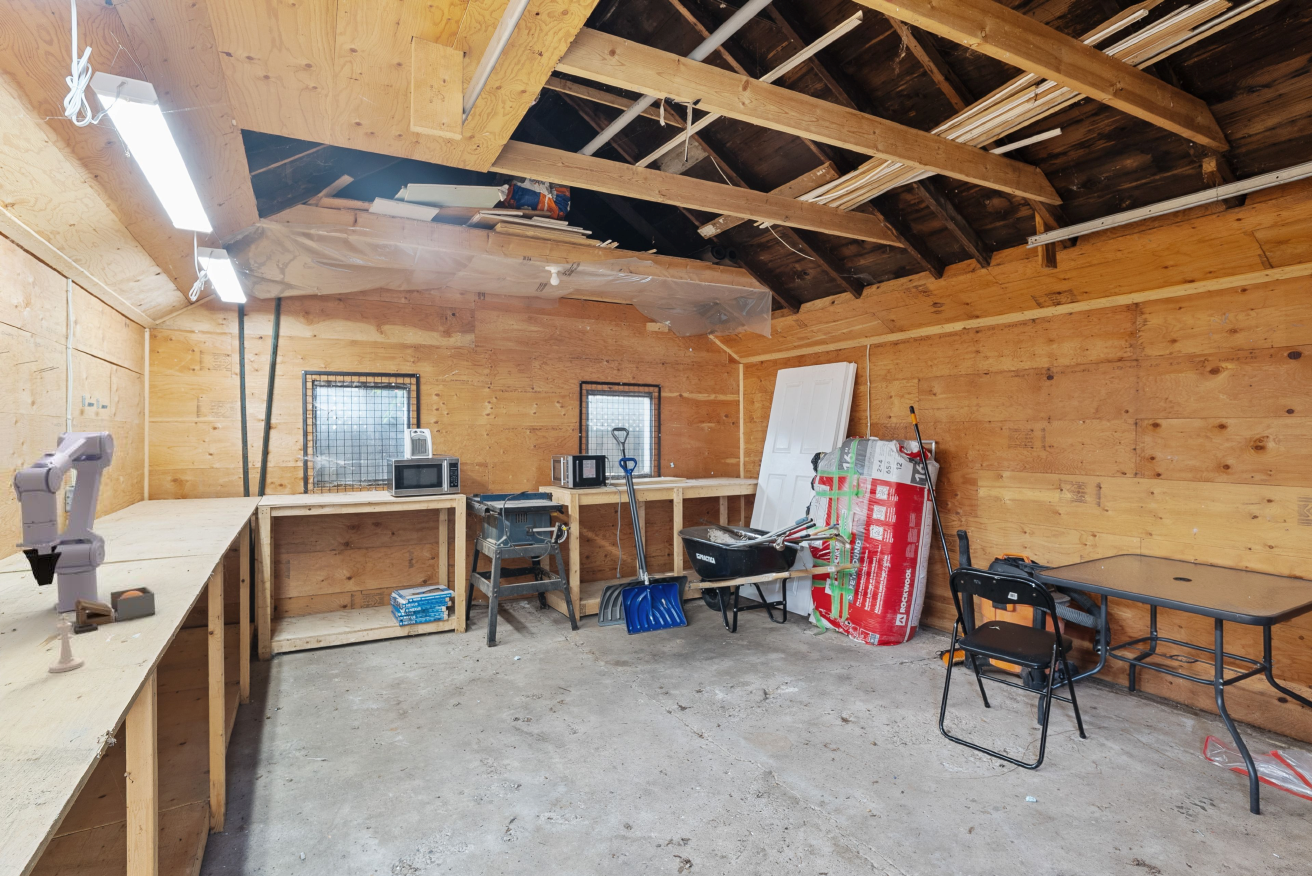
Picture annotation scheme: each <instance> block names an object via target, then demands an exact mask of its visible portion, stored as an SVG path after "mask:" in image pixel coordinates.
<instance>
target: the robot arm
mask: <svg viewBox="0 0 1312 876" xmlns="http://www.w3.org/2000/svg"><path fill="white" fill-rule="evenodd" d="M114 449H115V442H114V438H113V435H112V434H111V433H110V432H109V431H107V430H103V431H82V432H81V431H80V432H77V431H75V432H74V431H73V432H67V431H63V432H60V434H59V435H58V436H57V441H56V449H55V450H54V451H46V452H44V454H43V455H42V456H41V457H40V458H38V459H37V460H36V461H35V462H34V463H33V464H32V465H31V466H30V467H25V468H22V469H20V470H17V471H16V472H15V474H14V476H13V482H12V486H13V490H14V491H15V494H16V498H17V501H18V503H20V507H21V508H20V509H21V523H22V524H21V528H22V542H18V543H17V542H16V543H15V547H16V548H26V549H22V551H21V552H22V553H23V554H24V555H25V559H27V560H28V563H29V565H30V568H31V572H32V576H33V578H34V580H35V581H36V582H37V585H38V586H39V587H43V586H47V585H48V586H49V585H52V584H53V581H54V576H55V574H56V579H57V580H56V581H57V582H56V583H57V600H58V601H57V602H54V603H53V606H54V607H55V609H56V610H57V613H64V612H69V611H76V610H75V602H76V601H77V599H83V600H88V601H93V602H98V603H103V602H102V601H101V600H100V599H99V598H98V581H97V579H98V578H97V569H98V568H99V567H100V566H101V565H102V564H103V563H104V562H105V557H106V549H105V543H106V542H105V539H104V537H103V536H101V535H100V534H98V533H96V532H95V531H93V529H94V524H95V517H96V513H97V506H98V501H99V494H100V488H101V483H102V478H103V472H104V470H105V469H107V468H108V467H110V466H111V465H112V461H113V455H114ZM71 469H72V470H75V471H76V478H75V482H74V488H73V492H72V499H71V503H70V509H69V513H68V514H69V515H68V519H67V524H66V529H65V530H64V531H63V532H61V533H59V525H58V522H59V521H58V507H57V506H58V505H57V504H58V503H57V500H58V499H57V493H58V492H59V491H60V489H61V486H62V483H63V480H64V476H66V474H67V473H68V472H69V471H70V470H71Z"/></svg>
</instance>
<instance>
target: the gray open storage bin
mask: <svg viewBox="0 0 1312 876" xmlns="http://www.w3.org/2000/svg"><path fill="white" fill-rule="evenodd" d="M130 591H138V592H141V593H142V594H143V595H138V596H133V597H127V598H121V599H120V597H121V596H122V595H123V594H125V593H127V592H130ZM155 604H156V603H155V592H154V591H152V590H151V589H150V588H149V587H147V586H142V587H136V588H130V589H124V590H118V591H112V592H110V607H111V608H112V609H113V610H114V615H115V622H121V621H126V620H132V619H137V618H143V617H148V616H153V615H156V607H155V606H156V605H155Z"/></svg>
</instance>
